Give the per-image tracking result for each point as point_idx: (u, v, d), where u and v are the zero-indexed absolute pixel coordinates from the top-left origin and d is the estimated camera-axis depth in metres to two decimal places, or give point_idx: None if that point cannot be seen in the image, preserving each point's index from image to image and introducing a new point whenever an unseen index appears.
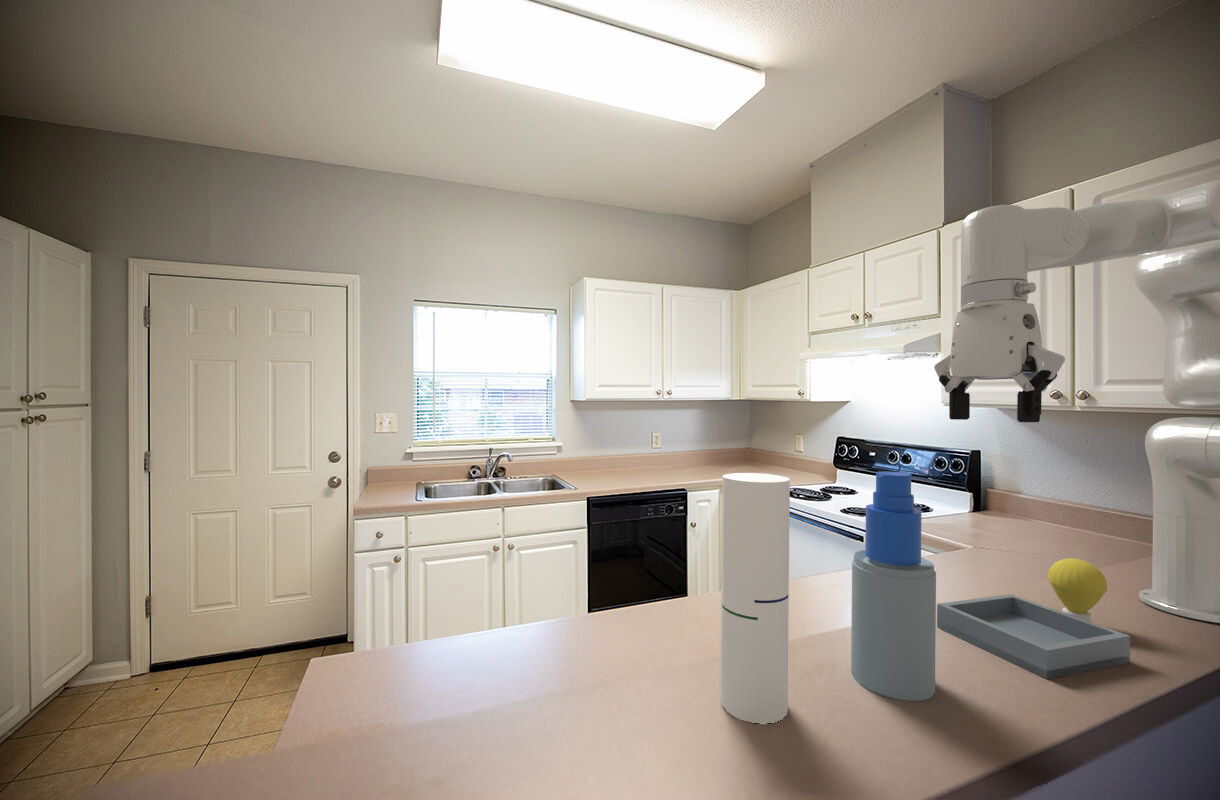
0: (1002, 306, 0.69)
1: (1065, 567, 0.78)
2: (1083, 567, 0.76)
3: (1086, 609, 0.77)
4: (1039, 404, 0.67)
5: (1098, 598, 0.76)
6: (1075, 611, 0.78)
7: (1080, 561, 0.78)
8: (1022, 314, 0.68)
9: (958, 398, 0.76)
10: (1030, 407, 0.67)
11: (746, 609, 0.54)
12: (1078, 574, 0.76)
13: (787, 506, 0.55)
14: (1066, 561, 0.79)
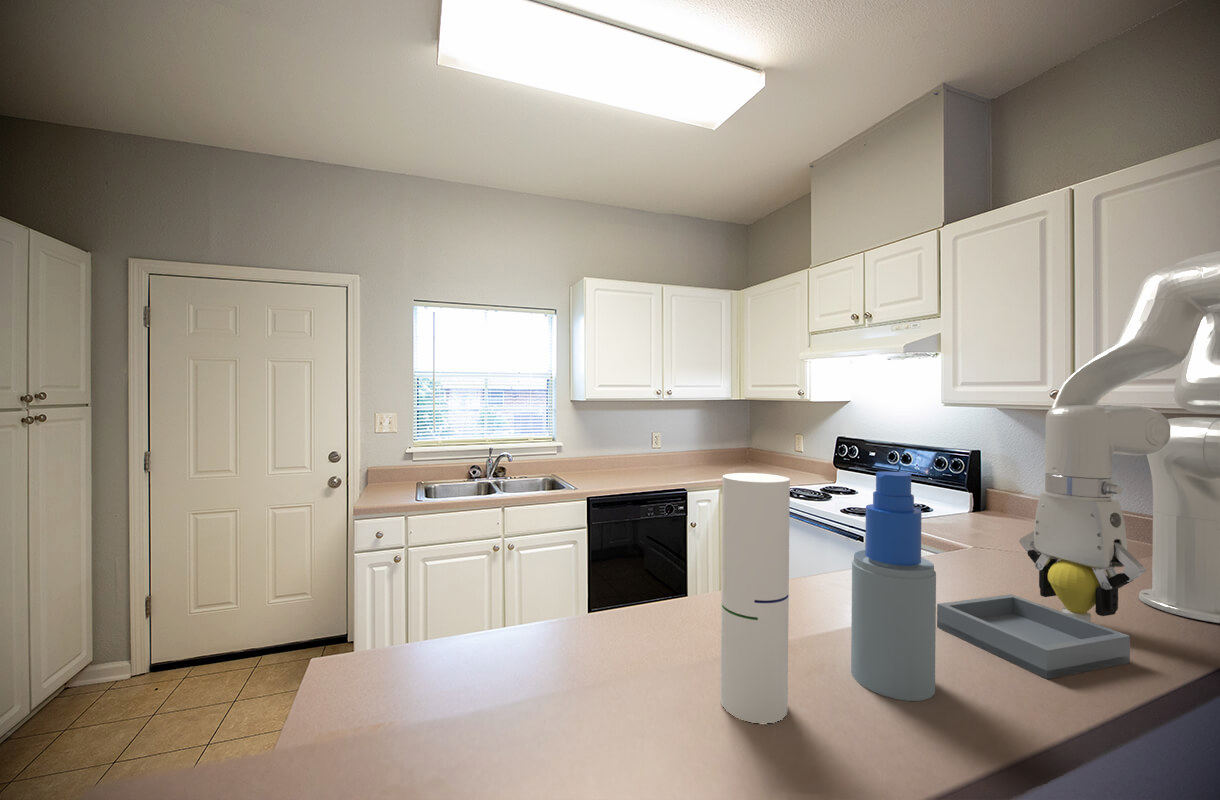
0: (1089, 503, 0.75)
1: (1065, 567, 0.78)
2: (1083, 567, 0.76)
3: (1086, 609, 0.77)
4: (1116, 600, 0.74)
5: None
6: (1075, 611, 0.78)
7: None
8: (1109, 513, 0.74)
9: None
10: (1108, 603, 0.74)
11: (746, 609, 0.54)
12: (1078, 574, 0.76)
13: (787, 506, 0.55)
14: (1066, 561, 0.79)
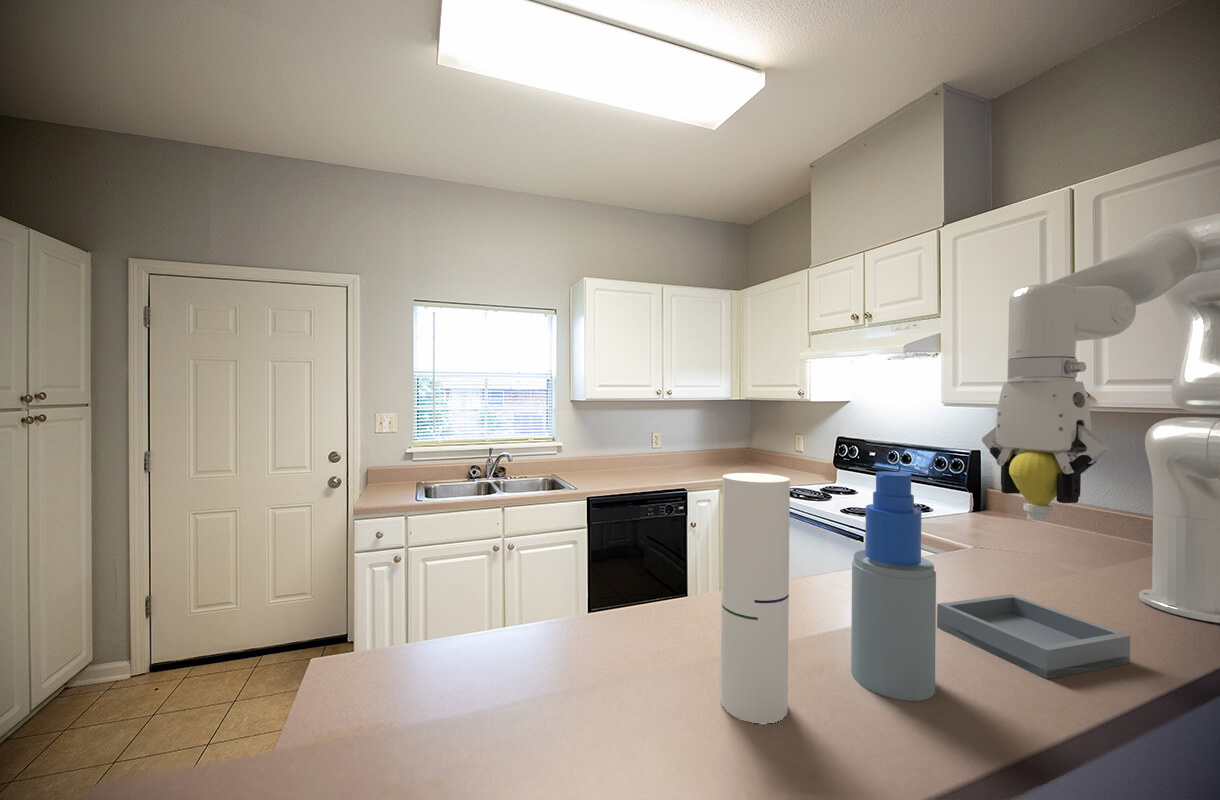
0: (1052, 383, 0.70)
1: (1026, 456, 0.73)
2: (1045, 455, 0.72)
3: (1047, 499, 0.72)
4: (1078, 486, 0.69)
5: None
6: (1036, 503, 0.73)
7: None
8: (1072, 392, 0.69)
9: None
10: (1069, 489, 0.69)
11: (746, 609, 0.54)
12: (1039, 461, 0.71)
13: (787, 506, 0.55)
14: None
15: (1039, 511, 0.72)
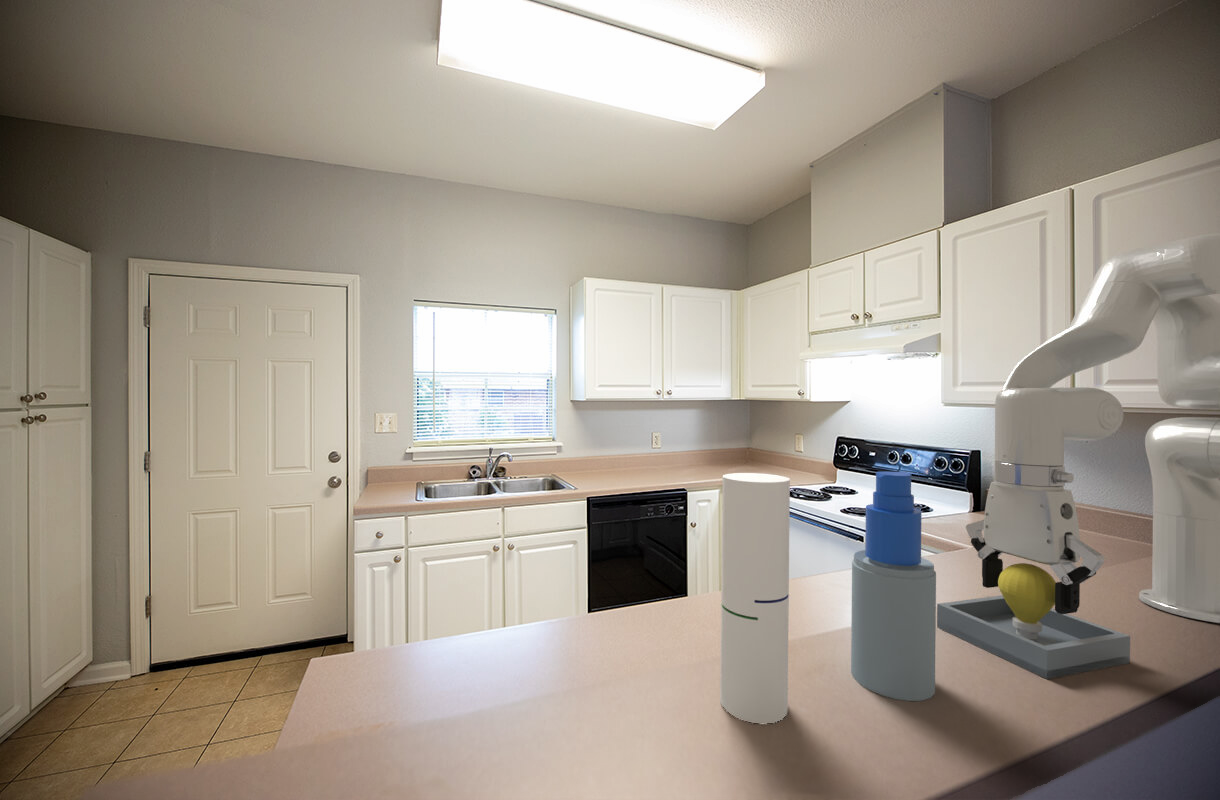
0: (1039, 492, 0.69)
1: (1015, 572, 0.72)
2: (1034, 573, 0.70)
3: (1037, 618, 0.71)
4: (1077, 597, 0.67)
5: (1049, 607, 0.70)
6: (1025, 620, 0.71)
7: (1031, 566, 0.72)
8: (1060, 504, 0.67)
9: (991, 566, 0.76)
10: (1068, 600, 0.66)
11: (746, 609, 0.54)
12: (1028, 580, 0.70)
13: (787, 506, 0.55)
14: (1017, 566, 0.72)
15: (1028, 630, 0.71)
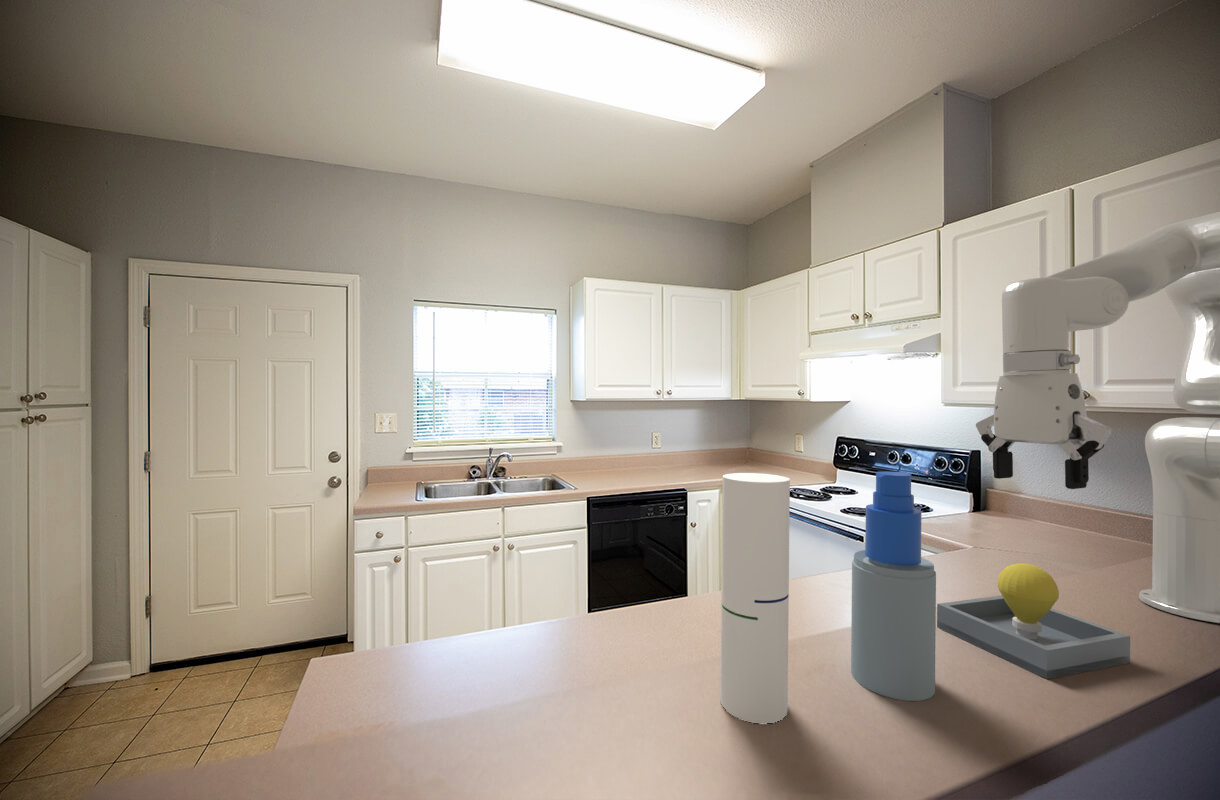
0: (1047, 376, 0.72)
1: (1015, 572, 0.72)
2: (1033, 573, 0.70)
3: (1036, 618, 0.71)
4: (1086, 471, 0.70)
5: (1049, 607, 0.70)
6: (1025, 620, 0.71)
7: (1030, 566, 0.72)
8: (1067, 385, 0.70)
9: (1002, 458, 0.79)
10: (1078, 475, 0.69)
11: (746, 609, 0.54)
12: (1027, 580, 0.70)
13: (787, 506, 0.55)
14: (1016, 566, 0.72)
15: (1028, 630, 0.71)
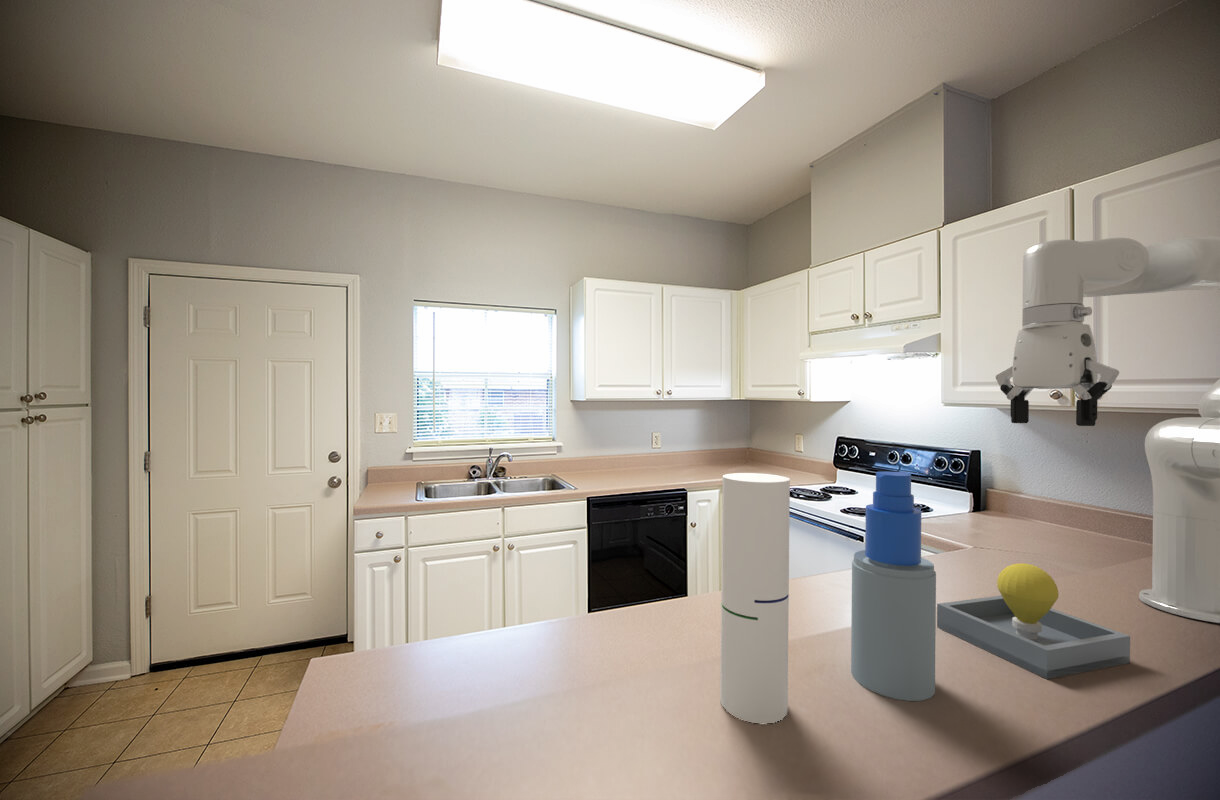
0: (1062, 326, 0.80)
1: (1014, 573, 0.72)
2: (1033, 573, 0.70)
3: (1036, 619, 0.71)
4: (1095, 410, 0.78)
5: (1048, 607, 0.70)
6: (1025, 621, 0.71)
7: (1030, 566, 0.72)
8: (1080, 334, 0.79)
9: (1019, 404, 0.88)
10: (1088, 413, 0.78)
11: (746, 609, 0.54)
12: (1027, 581, 0.70)
13: (787, 506, 0.55)
14: (1016, 566, 0.72)
15: (1028, 630, 0.71)
